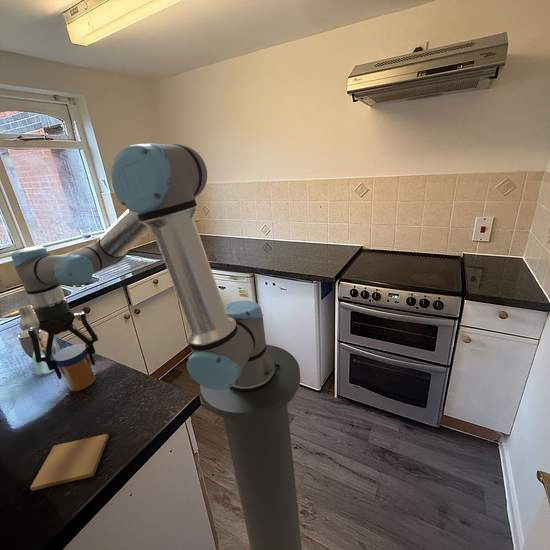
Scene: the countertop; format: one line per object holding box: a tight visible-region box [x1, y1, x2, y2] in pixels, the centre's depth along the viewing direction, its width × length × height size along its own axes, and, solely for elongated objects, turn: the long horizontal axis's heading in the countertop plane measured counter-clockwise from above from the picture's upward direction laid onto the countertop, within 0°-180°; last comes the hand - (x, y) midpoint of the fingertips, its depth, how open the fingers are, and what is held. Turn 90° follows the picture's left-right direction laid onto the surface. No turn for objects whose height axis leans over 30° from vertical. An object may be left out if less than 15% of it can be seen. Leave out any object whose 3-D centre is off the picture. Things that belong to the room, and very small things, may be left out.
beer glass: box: [17, 327, 55, 377], centre depth 97 cm, size 7×7×15 cm
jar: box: [59, 355, 97, 392], centre depth 90 cm, size 7×7×11 cm
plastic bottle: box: [18, 305, 57, 356], centre depth 103 cm, size 6×7×20 cm
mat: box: [29, 433, 110, 491], centre depth 67 cm, size 12×10×1 cm
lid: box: [54, 343, 89, 368], centre depth 88 cm, size 8×8×2 cm
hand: (77, 369), depth 90 cm, fingers closed on lid, 8 cm apart
